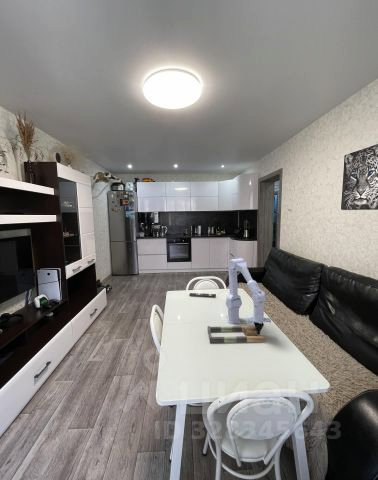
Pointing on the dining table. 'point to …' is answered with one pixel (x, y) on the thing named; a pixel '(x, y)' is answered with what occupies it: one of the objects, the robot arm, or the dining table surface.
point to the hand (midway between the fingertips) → (257, 333)
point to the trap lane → (232, 339)
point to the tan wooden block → (250, 331)
